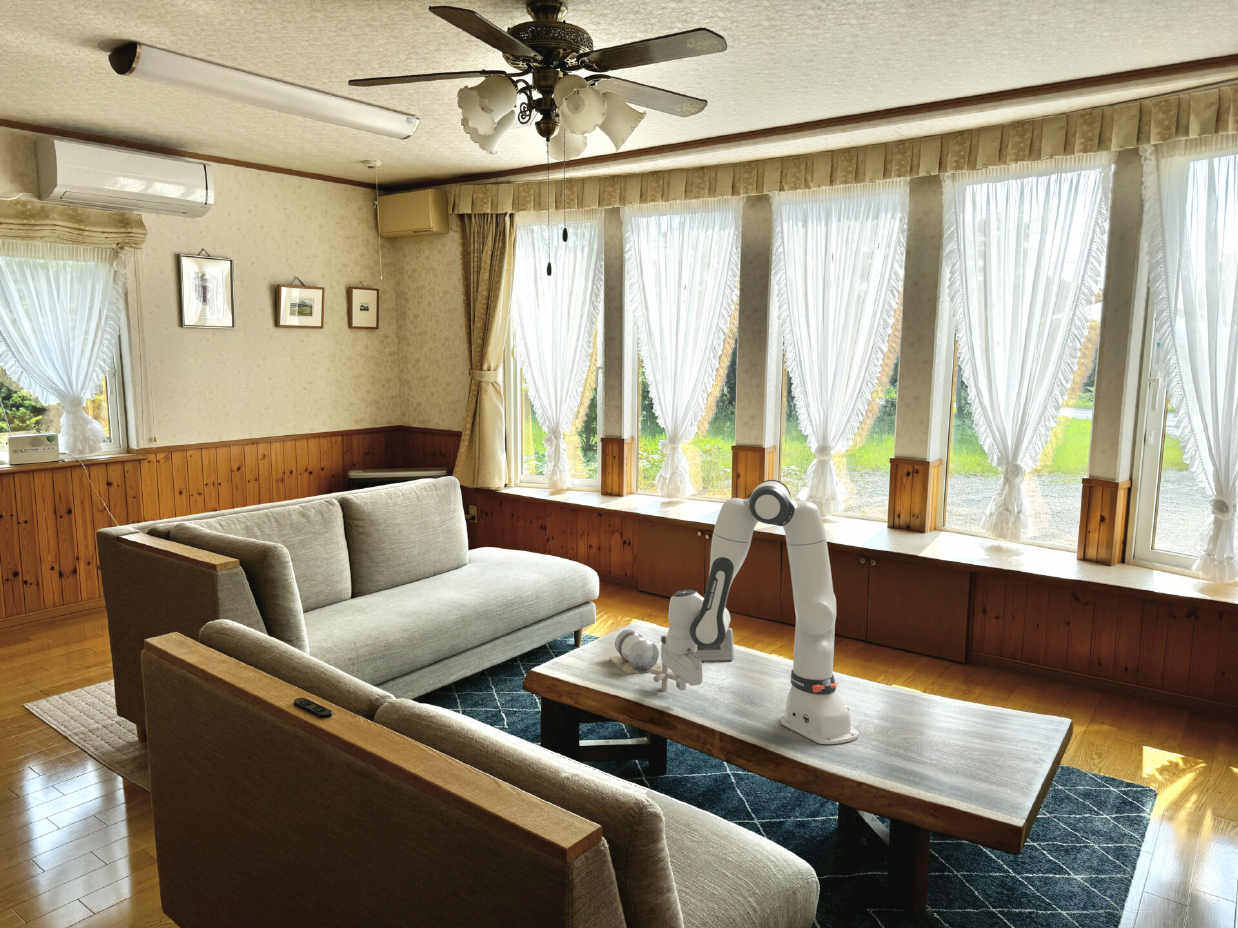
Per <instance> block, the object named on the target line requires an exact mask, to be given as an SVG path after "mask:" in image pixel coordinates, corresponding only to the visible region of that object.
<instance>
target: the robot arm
mask: <svg viewBox="0 0 1238 928" xmlns="http://www.w3.org/2000/svg"><path fill="white" fill-rule="evenodd" d="M759 522H760V523H762V524H765V525H772V526H777V527H782V528H783V531H784V535H785V541H786V549H787V556H788V562H789V569H790V576H791V578H790V579H791V587H792V595H793V605H794V613H795V629H794V644H793V662H792V669H791V674H790V684H791V687H790V690H789V692H788V694H787V699H786V704H785V705H786V706H785V712H784V717H783V718H782V719H781V723H780V724H781V725H783V726H784V727H786V728H788V729H790V730H792V731H793V732H796V733H798V734H800V735H801V736H804V737H806V738H807V739H810V740H812V741H813V742H815V743H817V744H819V745H820V744H822V745H836V744H837V745H838V744H843V743H847V742H848V743H849V742H852V741H854V740H856V739H858V738H859V737H860V732H859V731H858V730H857V729H856V728H855V727H854V726H853V725H851V721H852V720H851V713H850V708H849V706H848V705H847V704H844V701H843V699H842V698H841V697H840V695H839V694H838V691H837V690H836V689H837V688H838V687H839V685H838V684H839V682H836V679H835V675H834V673H833V670H834V668H833V667H834V654H835V653H834V652H835V651H834V650H835V632H836V631H835V629H836V628H835V627H836V619H837V598H836V594H835V593H834V585H833V584H834V583H833V578H832V570H831V569H832V567H831V563H830V562H831V561H830V556H829V555H830V554H829V548H828V541H827V535H826V530H825V525H824V521H823V518H822V516H821V512H820V509H819V508H818V506H817V505H816V504H815V503H813V502H810V501H806V500H804V501H803V500H801V501H797V500H795V499H793V498H792V497H791V492H790V490H789V488H788V487H787V486H786V485H785V483H783V482H782V481H780V480H777V479H767V480H765V481H762V482H761V483H759V484H758V485H757V486H756V487H755V488H754V489H753V490H752V492H751V493H749V495H747V498H739V497H733V498H729V499H726V500H725V501H724V502H723V503H722V506H721V508H720V510H719V513H718V515H717V518H716V520H715V525H714V529H713V533H712V537H711V545H710V556H709V557H710V560H709V571H708V573H709V574H708V581H707V584H706V588H705V593H704V597H703V596H702V595H701V594H699V592H698V591H696V590H693V589H683V590H682V589H681V590H678V591H676V592H675V593H673V594H672V596H671V597H670V601H669V603H668V604H669V605H668V618H667V619H668V620H667V621H668V624H669V626H668V631H667V634H662V635H660V642H661V646H660V650H661V651H660V655H661V657H660V658H661V663H662V662H663V664H664V665H666V666H667V667H668V669H671V670H672V671H673V672H674V673H673V674H674V676H675V680H676V681H675V680H674V681H675V687H676V688H677V689H679V691H681V692H683V691H685V690H686V689H687V687H686V686H687V684H688V685H690V686H692V687H693V686H699V685H701V684H702V683H703V662H701V660H700V659H699V658H698V655H697V654H696V653H695V652H696V651H697V646H699V647H701V648H703V649H715V648H717V647H719V646H720V645H721V644H722V643H723V641H724V638H725V634H726V631H727V629H728V628H730V624H731V619H732V617H731V614H730V611H729V609H728V608H727V607H726V605H727V600H728V596H729V592H730V589H731V587H732V586H731V585H732V583H733V581H734V579H735V577H736V575H737V574H738V572H739V571H740V569H741V567H742V565H743V564H744V562H745V561H746V560H745V559H746V558H747V555H748V552H749V551H750V547H751V544H752V539H753V534H754V531H755V527H756V525H758V523H759Z"/></svg>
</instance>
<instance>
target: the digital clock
mask: <svg viewBox="0 0 1238 928" xmlns="http://www.w3.org/2000/svg"><path fill="white" fill-rule="evenodd" d="M734 648H735V646H734V632H733V628H732V627H728V629H727V631H726V634H725V638H724V641H723V643H722V644H721V645H720V646H719V647H717V648H715V649H703V648H701V647H699V646H697V651H696V652H695V653H696V654H697V655H698V658H699V659H700V660H701V663H704V662H705V663H707V662H712V663H713V662H724V661H733V660H734V659H735V651H734V650H735V649H734Z"/></svg>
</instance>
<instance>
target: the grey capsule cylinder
mask: <svg viewBox="0 0 1238 928" xmlns="http://www.w3.org/2000/svg"><path fill="white" fill-rule="evenodd" d="M614 647H615V651H616V652H617V653H618V654H619V655H617V656H616V655H615V656H609V657H608V660H609V662H610V663H612V664H613V665H614V666H615V667H616V668H617V669H618V670H620V671H621V672H622V673H623V675H626V676H627V675H633V674H640V673H648V672H649V673H650V669H651V668H656V669H659V670H662V665H660V664H658V663H657V662H658V660H659V655H660V654H659V652H660V651H659V649H658V647H657V645H656V644H655V643H654V642H653V641H651V640H649V639H645V638H644V637H643V635H641V634H640V633H639V632H637V631H635V630H634V629H624V630H622V631H621V632H620V633H619V634H618V635H616V638H615V641H614Z"/></svg>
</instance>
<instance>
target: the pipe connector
mask: <svg viewBox="0 0 1238 928" xmlns="http://www.w3.org/2000/svg"><path fill="white" fill-rule="evenodd" d="M649 674H652V675H655V676H653V678H652V679H653V682H655V683H658V682H660V681H661V686H660V687H661V692H667V691H668V679H669V680H671V681H675V682H676V680H675V676H674V672H673V671H672V670H671V669H669V668H668V667H667V666H666V665H664V664H663V662H662V661H661V670H659V669H656V668H651V669H650V671H649Z"/></svg>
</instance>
